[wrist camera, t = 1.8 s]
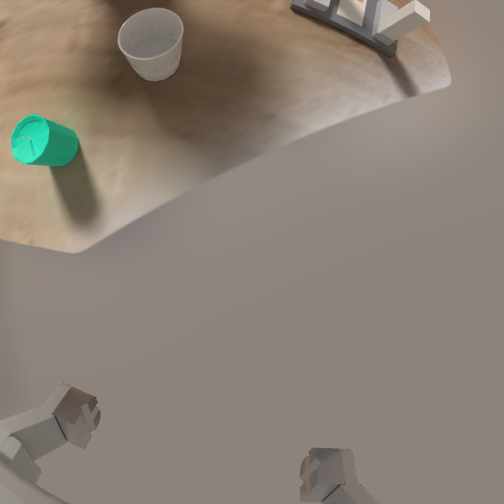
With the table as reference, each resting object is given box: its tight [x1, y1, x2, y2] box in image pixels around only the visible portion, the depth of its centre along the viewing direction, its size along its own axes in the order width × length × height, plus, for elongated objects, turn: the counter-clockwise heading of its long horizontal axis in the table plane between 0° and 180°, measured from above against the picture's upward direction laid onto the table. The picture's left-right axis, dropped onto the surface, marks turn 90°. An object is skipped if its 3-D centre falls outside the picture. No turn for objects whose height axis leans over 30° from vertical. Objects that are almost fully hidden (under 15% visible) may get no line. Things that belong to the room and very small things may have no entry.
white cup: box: [118, 8, 184, 82], centre depth 31 cm, size 8×8×10 cm
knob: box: [380, 0, 430, 41], centre depth 32 cm, size 3×3×10 cm
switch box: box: [290, 0, 398, 56], centre depth 37 cm, size 12×20×4 cm, turn 74°
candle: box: [11, 114, 78, 167], centre depth 30 cm, size 6×6×12 cm
